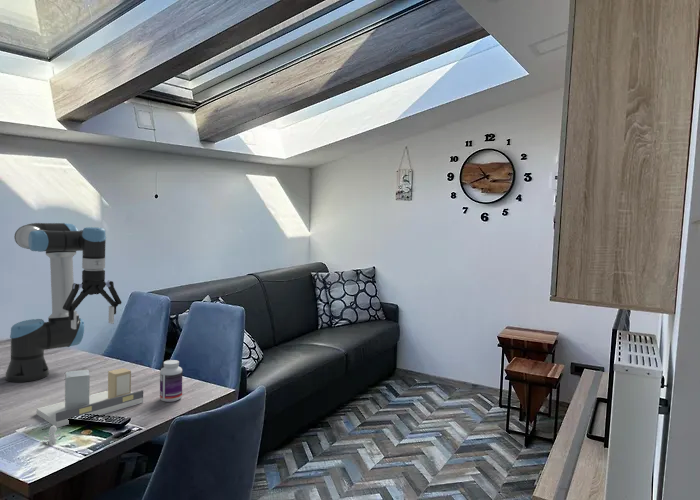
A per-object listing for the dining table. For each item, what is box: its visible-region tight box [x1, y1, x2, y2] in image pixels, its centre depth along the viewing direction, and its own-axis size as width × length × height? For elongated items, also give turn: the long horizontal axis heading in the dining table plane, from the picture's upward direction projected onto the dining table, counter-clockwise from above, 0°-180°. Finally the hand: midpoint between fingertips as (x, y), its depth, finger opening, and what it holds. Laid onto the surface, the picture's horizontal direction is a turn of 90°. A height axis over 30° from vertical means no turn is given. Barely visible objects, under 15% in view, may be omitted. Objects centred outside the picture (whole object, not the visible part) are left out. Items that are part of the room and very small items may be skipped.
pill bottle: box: [159, 359, 183, 403], centre depth 190 cm, size 8×8×14 cm
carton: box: [107, 367, 132, 399], centre depth 184 cm, size 5×6×10 cm
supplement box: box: [64, 369, 91, 411], centre depth 172 cm, size 7×7×13 cm
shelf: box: [36, 389, 144, 429], centre depth 178 cm, size 16×30×5 cm, turn 143°
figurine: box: [41, 425, 62, 446], centre depth 151 cm, size 8×8×6 cm
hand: (92, 325), depth 185 cm, fingers open, 13 cm apart
